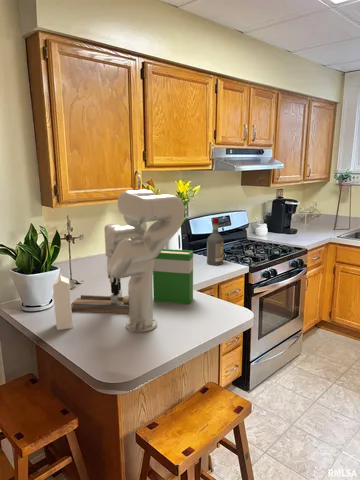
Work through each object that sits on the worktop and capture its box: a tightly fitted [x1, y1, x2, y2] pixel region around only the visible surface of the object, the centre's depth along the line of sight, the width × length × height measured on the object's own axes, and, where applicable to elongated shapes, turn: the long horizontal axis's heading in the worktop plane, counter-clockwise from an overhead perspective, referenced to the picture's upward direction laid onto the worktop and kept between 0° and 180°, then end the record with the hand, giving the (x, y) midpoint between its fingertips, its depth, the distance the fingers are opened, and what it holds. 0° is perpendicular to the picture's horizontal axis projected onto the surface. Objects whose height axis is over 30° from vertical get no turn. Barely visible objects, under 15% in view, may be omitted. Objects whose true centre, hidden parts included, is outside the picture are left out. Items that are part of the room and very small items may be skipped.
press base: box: [71, 294, 129, 314], centre depth 162 cm, size 10×32×8 cm, turn 83°
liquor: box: [206, 217, 225, 267], centre depth 229 cm, size 9×9×30 cm
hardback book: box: [152, 248, 194, 305], centre depth 170 cm, size 18×7×24 cm, turn 76°
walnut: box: [122, 295, 129, 305], centre depth 161 cm, size 4×4×4 cm
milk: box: [52, 273, 73, 331], centre depth 143 cm, size 6×6×22 cm
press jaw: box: [110, 277, 123, 305], centre depth 161 cm, size 7×3×12 cm, turn 173°
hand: (116, 291), depth 161 cm, fingers closed on press jaw, 2 cm apart
